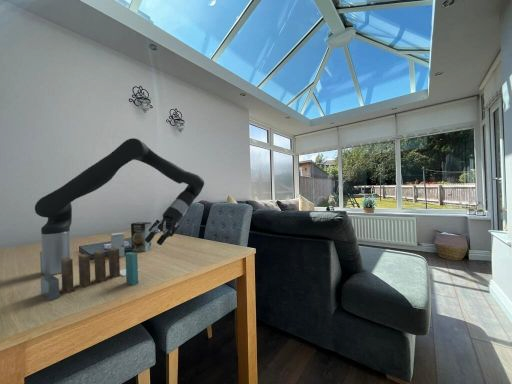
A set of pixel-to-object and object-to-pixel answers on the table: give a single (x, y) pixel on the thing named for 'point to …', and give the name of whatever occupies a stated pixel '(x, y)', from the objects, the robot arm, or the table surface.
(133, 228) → the coffee box
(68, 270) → the domino
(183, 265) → the table surface
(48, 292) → the end stop
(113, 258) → the domino
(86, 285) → the domino
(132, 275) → the teal domino
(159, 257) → the table surface
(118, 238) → the skincare box
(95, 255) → the domino
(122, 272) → the slot marker
